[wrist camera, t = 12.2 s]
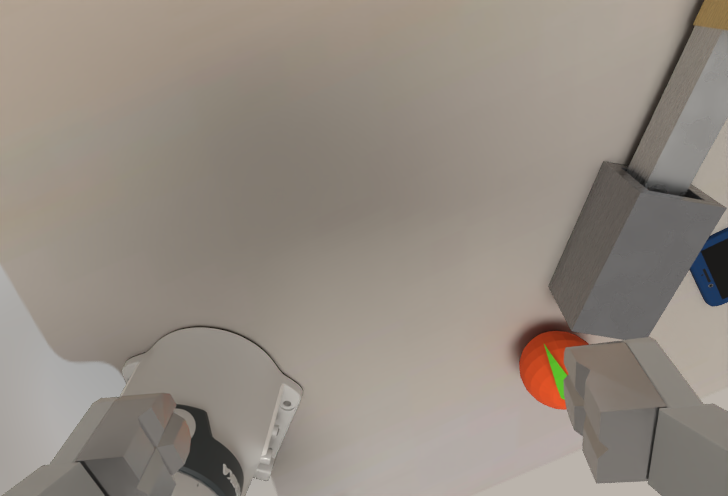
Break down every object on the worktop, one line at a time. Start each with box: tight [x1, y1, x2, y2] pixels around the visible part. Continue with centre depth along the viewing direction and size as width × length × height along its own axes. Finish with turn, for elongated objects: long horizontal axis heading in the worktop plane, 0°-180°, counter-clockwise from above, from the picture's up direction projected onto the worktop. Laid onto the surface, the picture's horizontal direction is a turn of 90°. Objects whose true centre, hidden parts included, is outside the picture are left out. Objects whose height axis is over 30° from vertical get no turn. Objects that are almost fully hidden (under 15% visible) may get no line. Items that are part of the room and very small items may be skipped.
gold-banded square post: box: [626, 0, 728, 197], centre depth 30 cm, size 19×3×5 cm, turn 171°
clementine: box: [519, 331, 589, 409], centre depth 43 cm, size 8×7×7 cm
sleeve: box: [549, 162, 726, 340], centre depth 37 cm, size 12×6×6 cm, turn 171°
